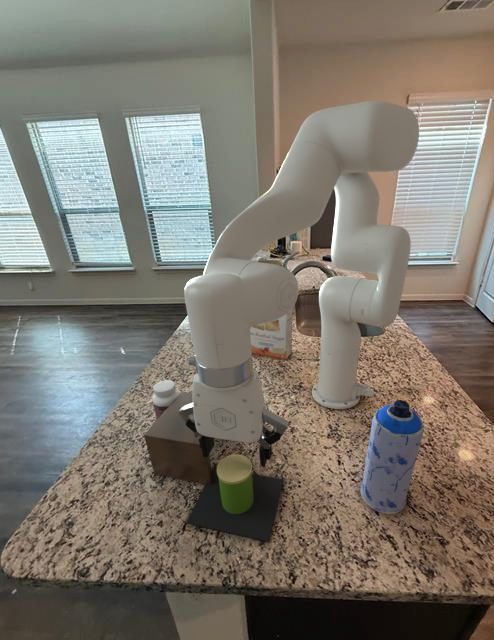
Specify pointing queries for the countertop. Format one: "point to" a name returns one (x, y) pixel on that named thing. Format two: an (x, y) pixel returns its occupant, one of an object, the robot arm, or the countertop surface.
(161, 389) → the pill bottle
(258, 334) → the cracker box
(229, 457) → the green cylinder can
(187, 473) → the brown bridge stand
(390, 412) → the aerosol can
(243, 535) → the mat
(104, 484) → the countertop surface
